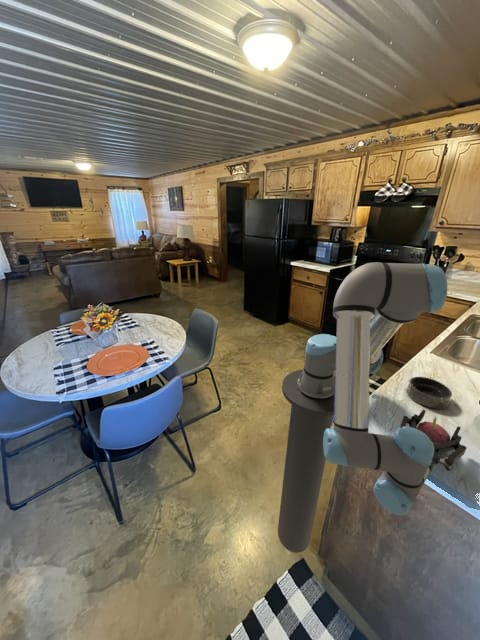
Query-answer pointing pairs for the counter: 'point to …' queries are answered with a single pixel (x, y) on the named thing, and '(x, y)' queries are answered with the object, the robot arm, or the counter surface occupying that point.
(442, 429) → the cupcake
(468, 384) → the counter surface
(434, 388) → the dark round bowl
